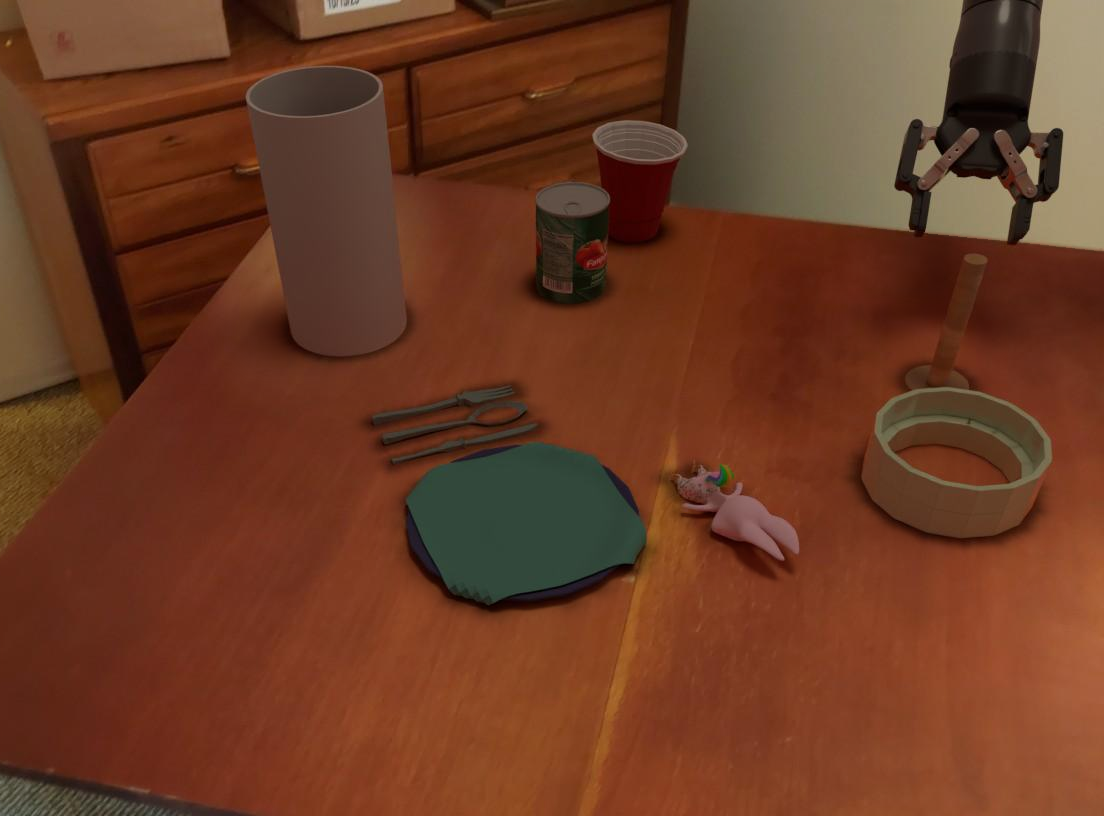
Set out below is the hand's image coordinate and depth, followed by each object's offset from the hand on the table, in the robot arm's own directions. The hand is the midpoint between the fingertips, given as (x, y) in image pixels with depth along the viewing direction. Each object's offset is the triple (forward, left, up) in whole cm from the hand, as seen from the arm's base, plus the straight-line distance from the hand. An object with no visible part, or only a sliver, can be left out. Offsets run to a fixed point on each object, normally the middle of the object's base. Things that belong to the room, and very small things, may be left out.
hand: (966, 238), depth 101 cm
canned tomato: (+14, -37, -12) cm, 41 cm away
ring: (+21, +10, -12) cm, 26 cm away
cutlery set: (+46, -20, -12) cm, 51 cm away
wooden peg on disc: (+7, +3, -12) cm, 14 cm away
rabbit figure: (+37, -2, -12) cm, 39 cm away
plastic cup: (-1, -39, -12) cm, 41 cm away
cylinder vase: (+35, -51, -12) cm, 63 cm away
